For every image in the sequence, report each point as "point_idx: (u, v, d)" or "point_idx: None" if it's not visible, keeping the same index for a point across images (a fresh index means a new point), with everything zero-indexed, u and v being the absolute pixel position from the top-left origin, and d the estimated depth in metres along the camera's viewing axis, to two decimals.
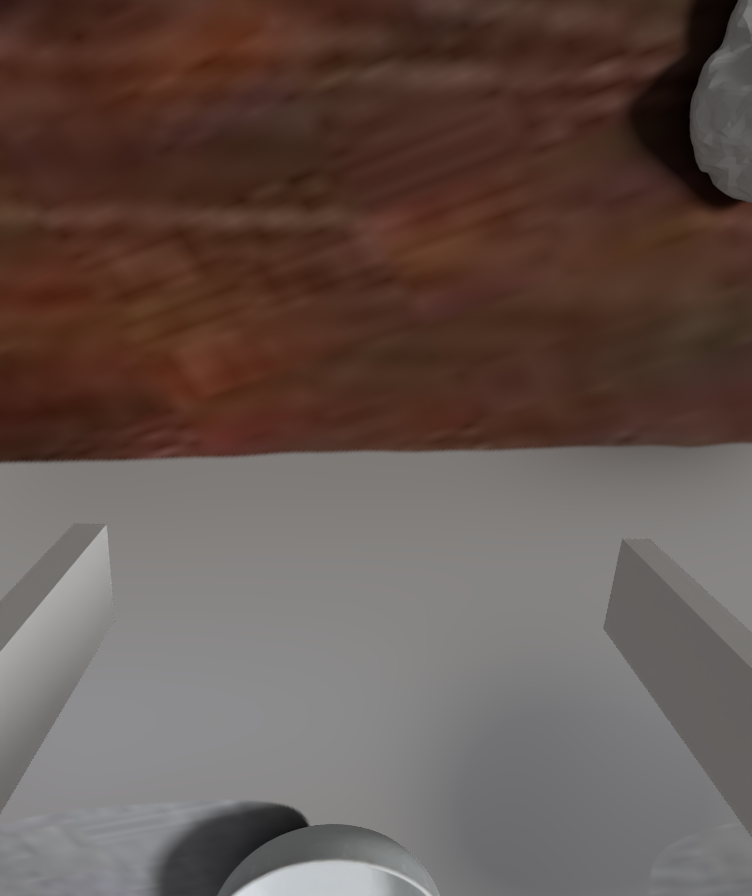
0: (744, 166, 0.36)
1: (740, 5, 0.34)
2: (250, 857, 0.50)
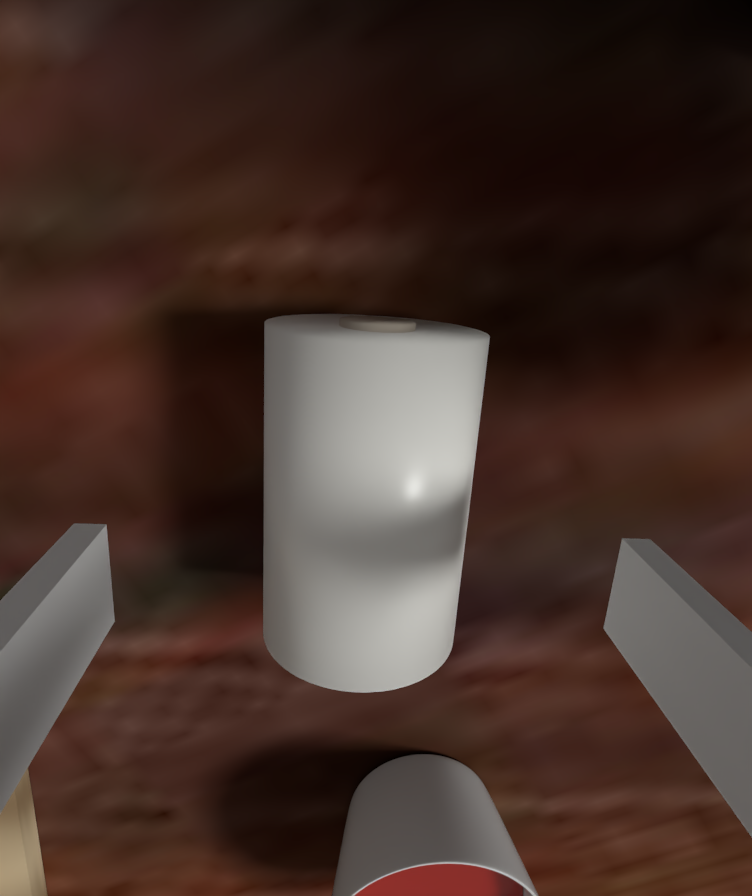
0: None
1: None
2: None
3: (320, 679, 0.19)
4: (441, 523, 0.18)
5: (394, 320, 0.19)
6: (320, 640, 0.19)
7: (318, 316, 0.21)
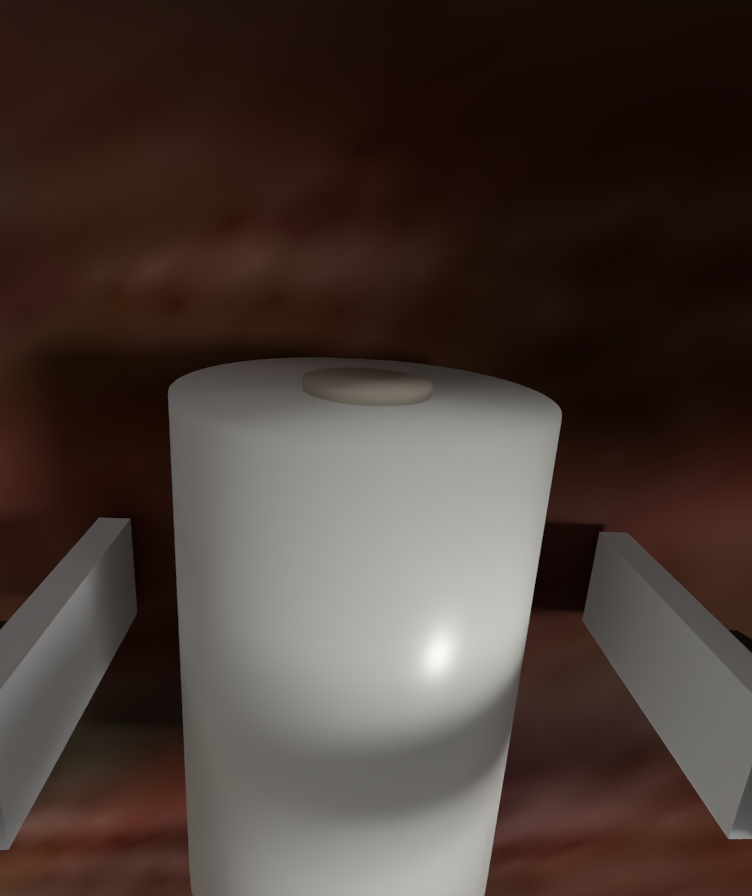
0: None
1: None
2: None
3: None
4: (469, 743, 0.10)
5: (397, 377, 0.11)
6: None
7: (280, 364, 0.13)
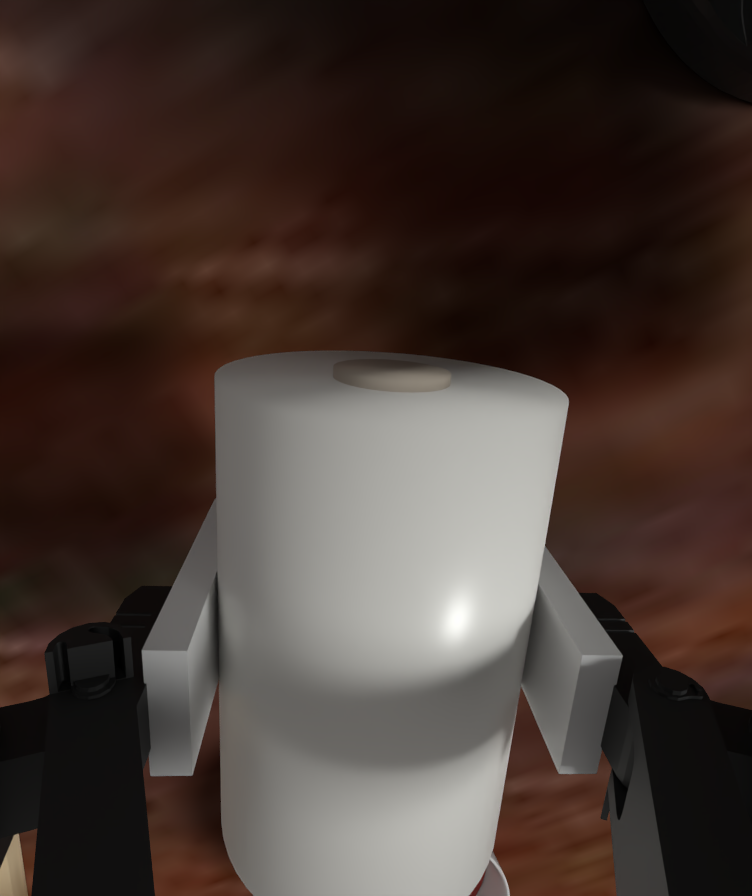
0: None
1: None
2: None
3: None
4: (482, 698, 0.11)
5: (418, 368, 0.13)
6: (289, 860, 0.12)
7: (310, 356, 0.14)
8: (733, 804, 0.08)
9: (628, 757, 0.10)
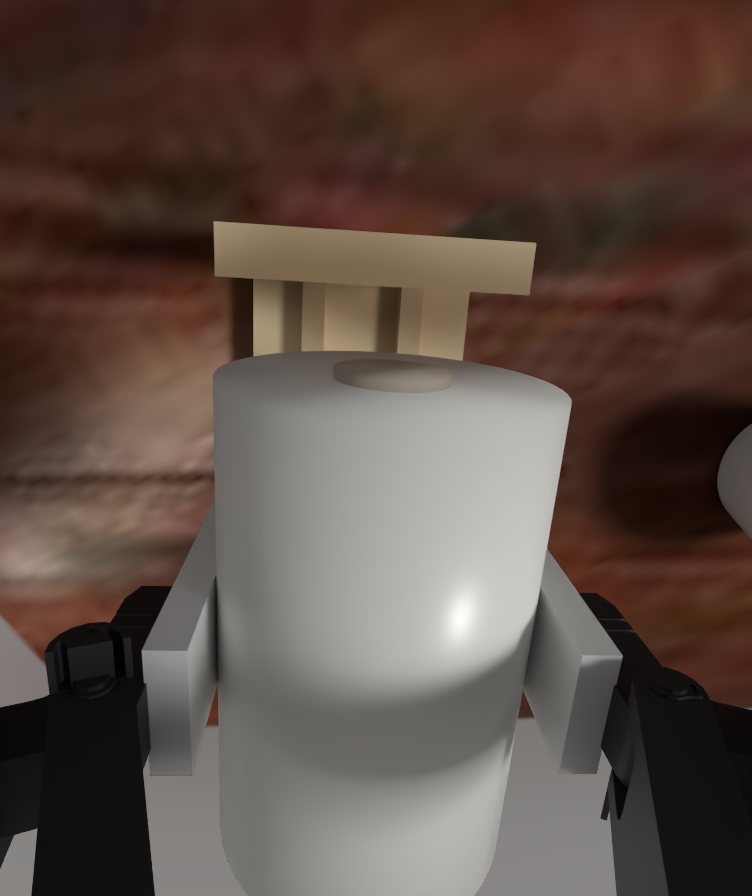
0: None
1: None
2: None
3: None
4: (483, 702, 0.11)
5: (419, 368, 0.12)
6: (288, 866, 0.12)
7: (310, 356, 0.14)
8: (733, 804, 0.08)
9: (628, 757, 0.10)
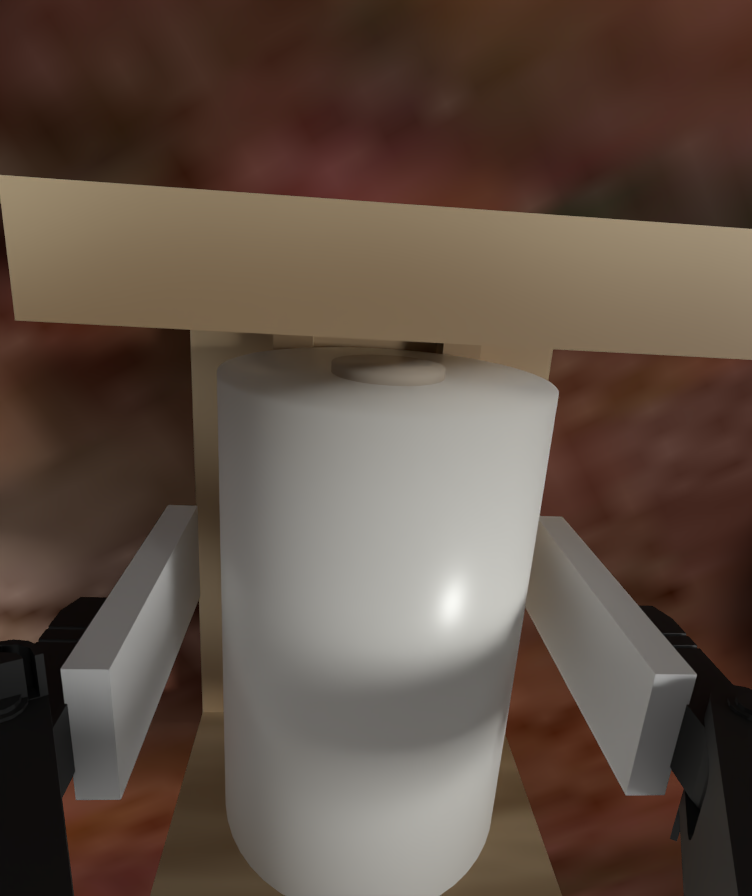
0: None
1: None
2: None
3: (291, 890, 0.13)
4: (475, 680, 0.12)
5: (414, 363, 0.13)
6: (291, 838, 0.13)
7: (310, 352, 0.15)
8: None
9: (702, 777, 0.10)
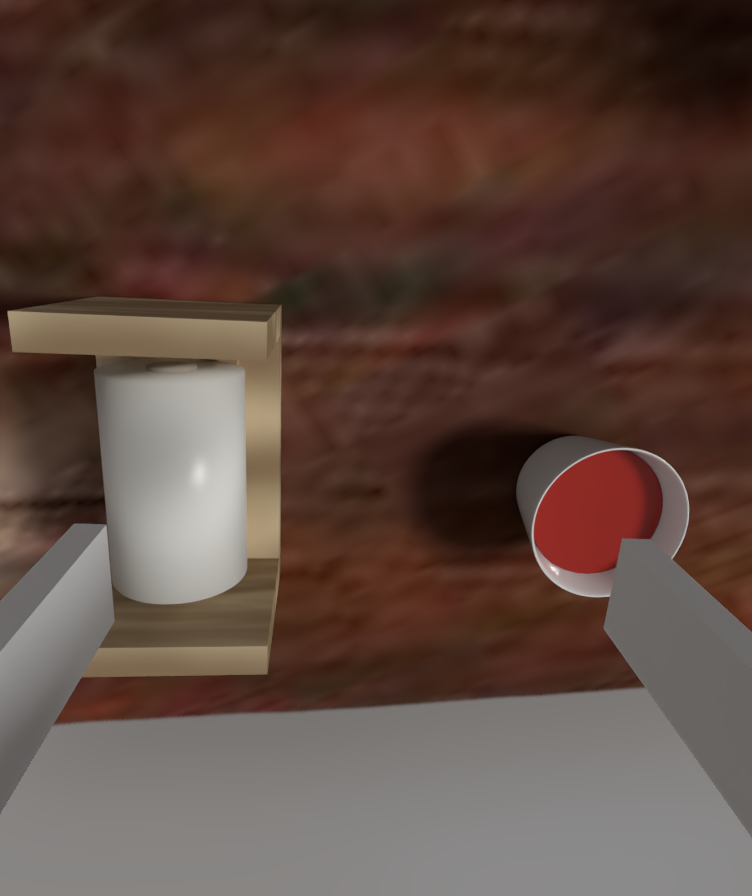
0: None
1: None
2: None
3: (134, 595, 0.30)
4: (202, 493, 0.28)
5: (185, 364, 0.30)
6: (131, 568, 0.29)
7: (148, 360, 0.32)
8: None
9: None
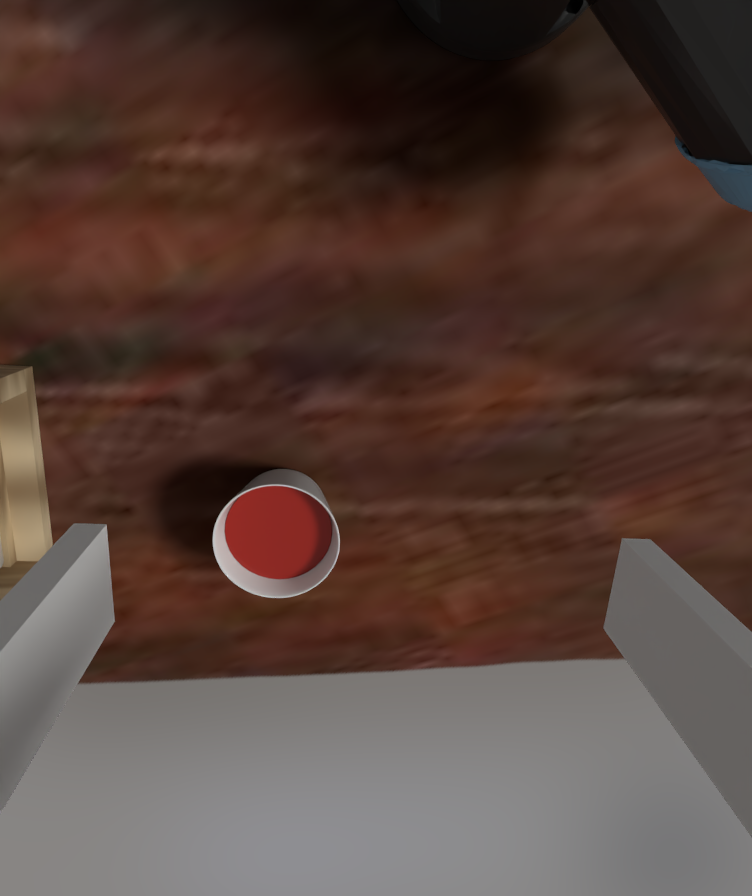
0: None
1: None
2: None
3: None
4: None
5: None
6: None
7: None
8: None
9: None
